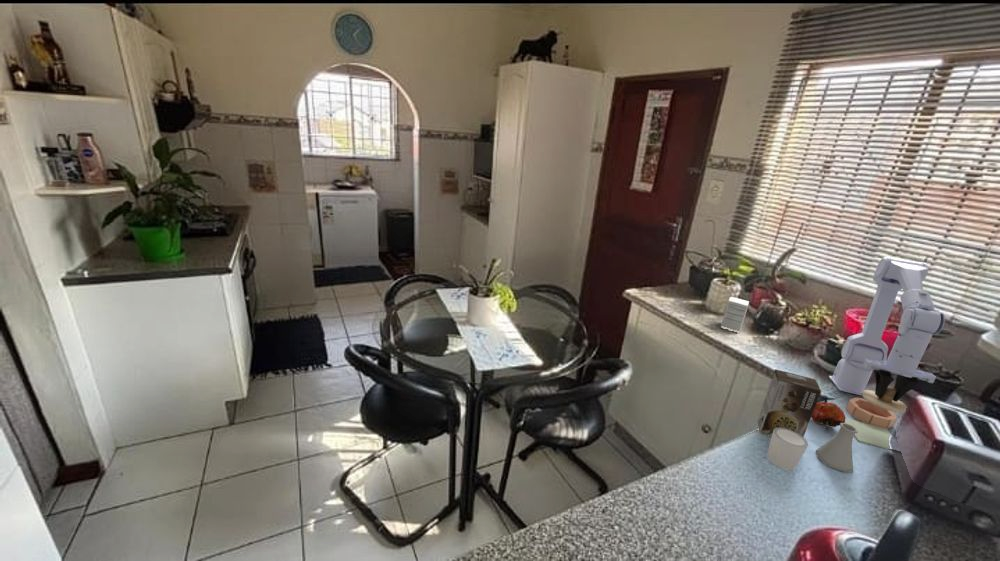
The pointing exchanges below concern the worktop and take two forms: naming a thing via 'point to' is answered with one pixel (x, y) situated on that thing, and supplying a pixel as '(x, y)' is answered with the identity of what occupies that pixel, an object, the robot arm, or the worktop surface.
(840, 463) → the flask
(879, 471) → the worktop surface
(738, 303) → the supplement box
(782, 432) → the white cylinder
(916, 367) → the robot arm
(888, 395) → the lid
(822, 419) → the pomegranate
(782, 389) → the coffee box
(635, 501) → the worktop surface
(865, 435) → the mat
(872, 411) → the dish
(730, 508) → the worktop surface
